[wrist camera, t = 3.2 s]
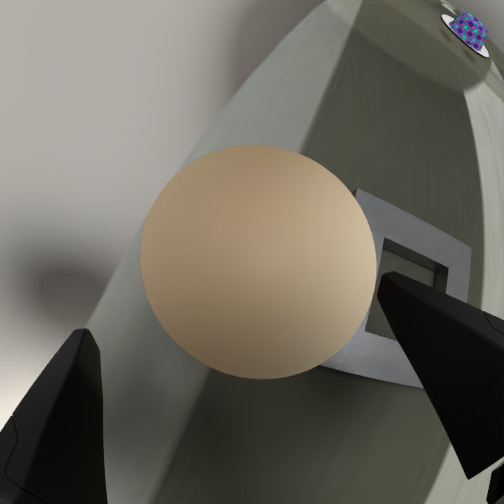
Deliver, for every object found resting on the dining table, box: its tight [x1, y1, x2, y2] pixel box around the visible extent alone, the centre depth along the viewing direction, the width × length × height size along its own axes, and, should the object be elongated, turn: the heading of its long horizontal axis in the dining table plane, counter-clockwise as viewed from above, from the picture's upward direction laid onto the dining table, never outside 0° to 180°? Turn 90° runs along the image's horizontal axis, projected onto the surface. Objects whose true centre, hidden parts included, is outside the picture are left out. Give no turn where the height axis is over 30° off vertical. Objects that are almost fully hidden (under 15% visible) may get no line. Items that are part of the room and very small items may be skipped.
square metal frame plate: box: [320, 188, 471, 388], centre depth 18 cm, size 11×11×2 cm
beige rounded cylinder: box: [140, 145, 376, 379], centre depth 11 cm, size 4×4×12 cm
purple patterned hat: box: [442, 12, 489, 57], centre depth 33 cm, size 12×12×5 cm
